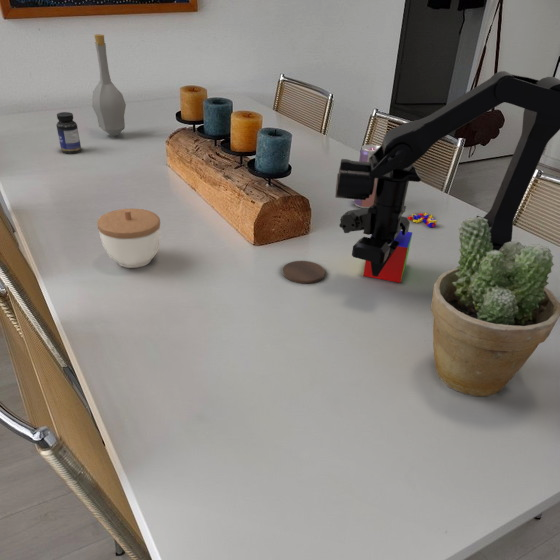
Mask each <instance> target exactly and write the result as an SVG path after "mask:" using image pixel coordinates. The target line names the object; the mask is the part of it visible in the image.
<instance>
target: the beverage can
mask: <svg viewBox="0 0 560 560" xmlns="http://www.w3.org/2000/svg"><path fill="white" fill-rule="evenodd" d="M380 146H381V145H377V144H364V145H362V146H361V149H360V152H359V160H358V161H359V162H369V158H370V157H371V156H372V155H373V154H374V153H375V152H376V150H377V149H378V148H379V147H380ZM377 179H378V178H375V181H374V188H373V193H372V195H370V196H369V198H366V200H356V199H353V203H354V205H355V206H356V207H357V208H359V209H364V208H369V207H371V206H372V205H373V203H374V197H375V191H376V185H377Z"/></svg>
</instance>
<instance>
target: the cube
mask: <svg viewBox="0 0 560 560" xmlns="http://www.w3.org/2000/svg"><path fill="white" fill-rule="evenodd" d="M371 236H372V235H371V234H370V237H371ZM412 236H413V232H412V231H408V232H407V233H406V235H402V230H401V232H400V233H399V234H398V236H397V237H396V238H395V239H394V241H398V242H399V245H398V246H397V248H396V249H395V251H394V252H393V254H392V255H391V257H390V258H389V260H388V261H387V263H386V264H385V266H384V267H383V269H382V270H381V272H380V274H379V275H378V276H377V277H376V276H373V275H372V268H371V262H370V261H367V260H365V262H364V269H363V275H362V276H363V277H366V278H372V279H377V280H384V281H389V282H394V283H400V284H401V283H402V280H403V276H404V273H405V270H406V266H407V263H408V257H409V252H410V246H411V242H412Z"/></svg>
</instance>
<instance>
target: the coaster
mask: <svg viewBox="0 0 560 560" xmlns="http://www.w3.org/2000/svg"><path fill="white" fill-rule="evenodd" d="M325 274H326V270H325V268H324V267H323V266H322V265H320V264H318V263H316V262H312V261H309V260H308V261H307V260H296V261H295V260H293V261H291V262H288V263H286V264H285V265H284V266H283V267H282V275H283V276H284V278H286V279H287V280H289V281H290V282H293V283H297V284H315V283H318V282H320V281H321V280H323V279H324V277H325Z"/></svg>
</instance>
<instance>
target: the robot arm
mask: <svg viewBox="0 0 560 560" xmlns="http://www.w3.org/2000/svg"><path fill="white" fill-rule="evenodd" d="M504 103H506V104H510V105H513V106H516V107H518V108H522V109H523V115H522V125H521V126H522V128H521V135H520V137H519V139H518V142H517V144H516V147H515V149H514V152H513V154H512V157H511V159H510V162H509V164H508V167H507V169H506V172H505V174H504V176H503V179H502V181H501V183H500V186H499V188H498V191H497V194H496V196H495V198H494V201H493V203H492V206H491V208H490V210H489V211H488V212H487V213H486V214H485V215H484V216H483V217H482V216H480V215H476V217H482V218H484V219H486V220H488V221H487V223H488V226H489V228H491V229H490V231H489V232H490V233H491V235H490V236H491V239H490V240H491V241H490V243H492V244H493V245H492V246H493V250H497V251H499V249H500V248H502V247H503V245H504V243H507V242H512V241H513V240H512V239H513V231H514V230H513V228H514V220H515V218H516V216H517V213H518V211H519V208H520V206H521V204H522V201H523V199H524V196H525V195H526V192H527V190H528V188H529V186H530V183H531V181H532V179H533V177H534V174H535V172H536V171H537V167H538V166H539V163H540V161H541V158H542V156H543V154H544V152H545V149H546V148H547V145H548V144H549V142H550V140H551V139H553V138H554V136H555V135H556V134H557V133H559V131H560V79H559V78H557V77H555V76H546V77H542V78H540V79H536V78H531V77H528V76H523V75H517V74H512V73H510V72H508V71H505V70H503V71H502V70H501V71H498V72H496V73H494V74H493V75H492V76H491V77H490V78H489V79H487V80H485V81H484V82H482V83H480V84H479V85H477V86H476V87H474V88H472V89H471V90H469V91H467V92H465V93H464V94H462V95H461V96H459V97H457V98H456V99H454V100H452V101H450V102H449V103H447V104H446V105H444V106H442V107H440V108H439V109H437V110H435V111H434V112H432V113H431V114H429V115H427V116H425V117H423V118H420V119H416V120H412V121H408V122H406V123H402V124H400V125H398V126H396V127H393V128H391V129H389V130H388V131H387V132H386V133H385V134H384V136H383V139H382V143H381V145H379V146H380V147H379V148H378V149H377V150H376V152H375V153H374V154H373V155H372V156H371V157H370V158H369V162H359V160H351V159H347V158H341V159H340V165H339V169H338V173H337V175H336V184H335V198H336V199H344V200H345V199H346V200H354V199H356V200H366V198H369V196H370V195H372V193H373V188H374V181H375V178H378V179H377V185H376V191H375V197H374V203H373V205H372V206H371V207H369V208H356V209H351V210H347V211H345V213H344V214H343V215H341V216H340V221H339V222H340V223H339V225H338V226H339V227H340V228H341V229H342V230H343V233H345V234H350V233H351V232H359V231H363V233H362V234H364V235H366V236H363V237H361V238H360V239H358V241H356V242H355V243H354V245H353V246H352V251H351V256H352V257H353V258H356V259H359V260H364V261H366V260H367V261H370V262H371V268H372V275H373V276H376V277H377V276H378V275H379V274H380V272H381V270H382V269H383V267H384V266H385V264H386V263H387V261H388V260H389V258H390V257H391V255H392V254H393V252H394V251H395V249H396V248H397V246H398V245H399V242H398V241H394V239H395V238H396V237H397V236H398V234H399V233H400V232H401V231H402V235H406V233H407V232H409V229H410V224H411V223H410V220H409V219H408V217H406V216H403V215H404V213H405V212H406V208H407V206H406V205H405V202H406V197H407V193H408V188H409V183H410V182H412V183H413V182H414V183H420V182H421V180H422V178H421V176H420V174H419V172H418V171H417V170H416V167H415V165H414V164H415V163H416V162H417V161H419V160H421V158H422V157H423V156H425V155H426V153H428V151H429V150H431V148H432V147H433V146H434V145H435V144H436V143H437V142H438V141H440V140H442V139H443V138H445V137H446V136H449V135H450V134H451V133H454V132H455V131H457V130H459V129H460V128H462V127H463V126H466V125H467V124H469V123H470V122H472V121H473V120H474V121H475V120H476V119H477V118H479V117H481V116H483V115H484V114H486V113H488V112H489V111H492V110H493V109H494V108H496V107H499V105H502V104H504ZM371 235H372V236H371ZM368 236H369V237H368Z"/></svg>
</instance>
